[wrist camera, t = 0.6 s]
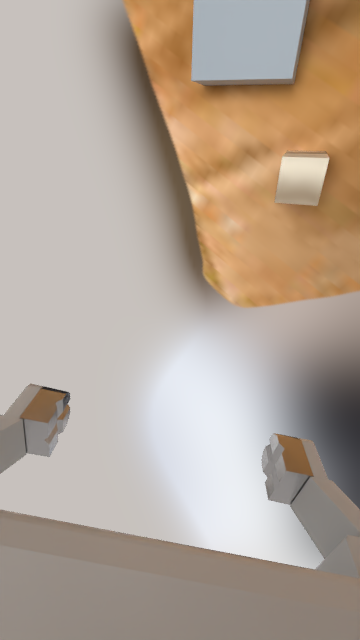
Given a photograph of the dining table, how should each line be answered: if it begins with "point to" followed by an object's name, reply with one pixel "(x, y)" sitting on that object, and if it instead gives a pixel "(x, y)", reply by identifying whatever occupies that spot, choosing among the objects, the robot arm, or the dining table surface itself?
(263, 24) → the slate block
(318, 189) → the birch block
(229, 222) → the dining table surface
